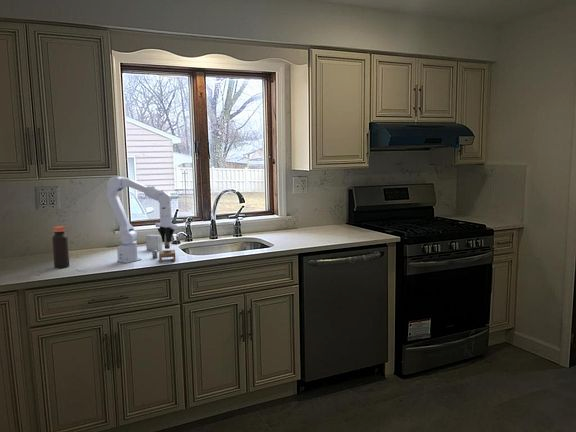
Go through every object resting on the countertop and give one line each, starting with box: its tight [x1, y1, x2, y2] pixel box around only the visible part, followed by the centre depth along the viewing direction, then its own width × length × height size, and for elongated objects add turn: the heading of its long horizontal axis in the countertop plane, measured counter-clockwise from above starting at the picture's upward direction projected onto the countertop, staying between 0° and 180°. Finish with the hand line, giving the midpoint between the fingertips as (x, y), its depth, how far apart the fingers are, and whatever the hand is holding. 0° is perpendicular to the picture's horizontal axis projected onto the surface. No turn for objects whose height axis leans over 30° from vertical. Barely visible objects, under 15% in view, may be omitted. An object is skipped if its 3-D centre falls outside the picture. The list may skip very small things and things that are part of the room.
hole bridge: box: [158, 249, 176, 263], centre depth 244 cm, size 9×8×4 cm
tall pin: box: [163, 233, 171, 250], centre depth 243 cm, size 3×3×8 cm
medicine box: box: [145, 234, 163, 252], centre depth 272 cm, size 8×4×9 cm, turn 74°
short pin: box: [151, 250, 159, 260], centre depth 250 cm, size 3×3×4 cm
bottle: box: [51, 225, 70, 269], centre depth 231 cm, size 7×7×20 cm
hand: (166, 241), depth 243 cm, fingers closed on tall pin, 3 cm apart
